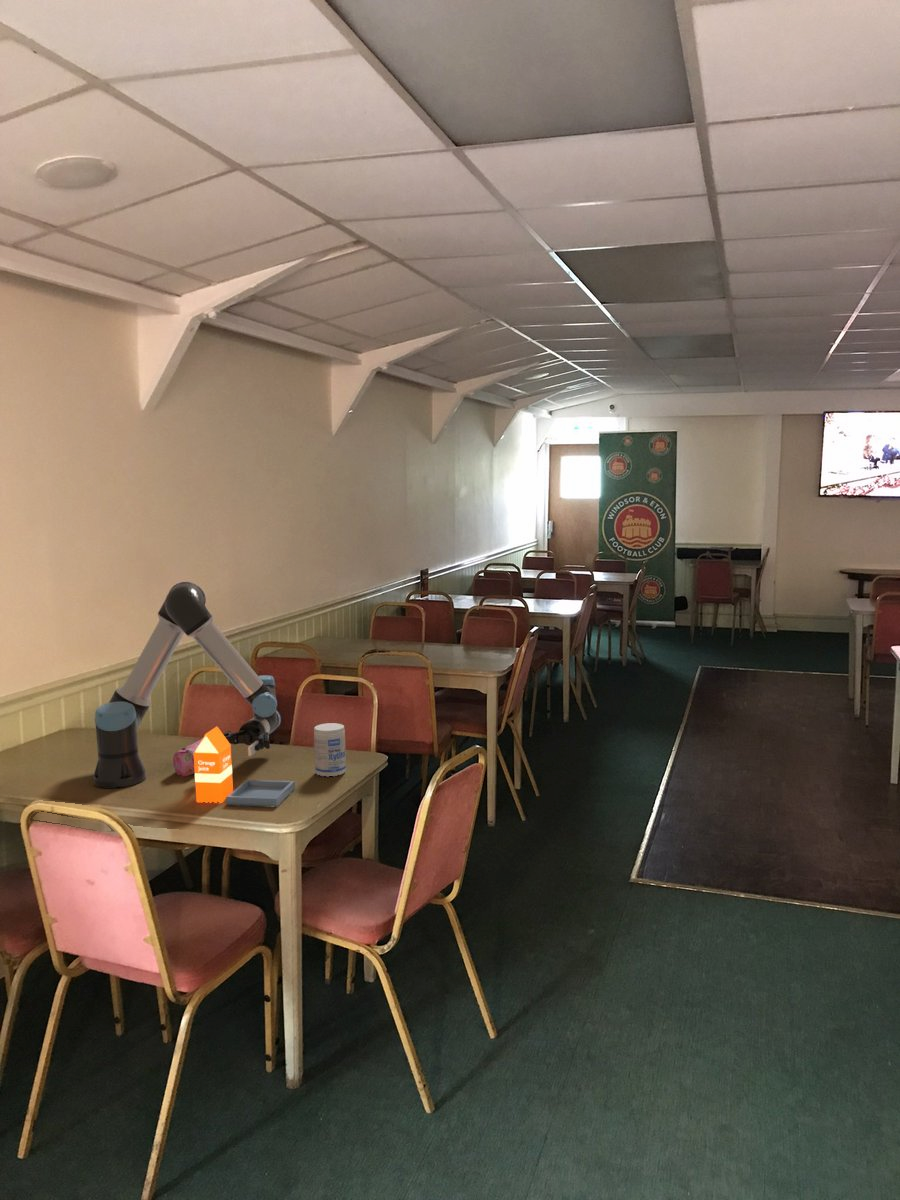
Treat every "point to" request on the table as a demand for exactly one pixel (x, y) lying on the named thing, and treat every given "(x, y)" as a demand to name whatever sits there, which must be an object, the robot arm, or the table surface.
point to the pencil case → (185, 759)
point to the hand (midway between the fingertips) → (227, 751)
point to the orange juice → (213, 768)
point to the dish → (260, 793)
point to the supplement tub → (329, 749)
